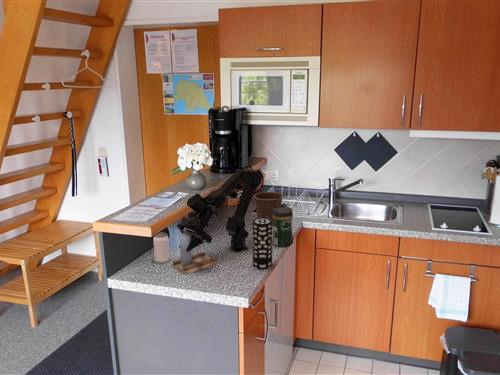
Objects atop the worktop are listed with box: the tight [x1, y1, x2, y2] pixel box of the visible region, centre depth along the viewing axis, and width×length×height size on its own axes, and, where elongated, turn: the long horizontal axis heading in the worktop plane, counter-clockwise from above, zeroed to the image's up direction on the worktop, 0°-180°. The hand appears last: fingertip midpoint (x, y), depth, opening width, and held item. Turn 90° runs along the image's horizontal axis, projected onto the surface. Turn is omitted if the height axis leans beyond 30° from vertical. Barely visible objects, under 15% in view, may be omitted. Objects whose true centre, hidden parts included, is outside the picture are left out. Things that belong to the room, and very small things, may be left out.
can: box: [153, 232, 170, 264], centre depth 187 cm, size 6×6×12 cm
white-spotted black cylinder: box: [251, 218, 273, 271], centre depth 179 cm, size 8×8×20 cm
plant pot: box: [253, 191, 284, 227], centre depth 235 cm, size 16×16×16 cm
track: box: [171, 251, 218, 275], centre depth 183 cm, size 16×11×2 cm
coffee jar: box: [272, 206, 294, 248], centre depth 203 cm, size 10×8×19 cm
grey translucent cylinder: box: [179, 233, 193, 266], centre depth 178 cm, size 5×5×13 cm
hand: (183, 249), depth 178 cm, fingers closed on grey translucent cylinder, 5 cm apart
